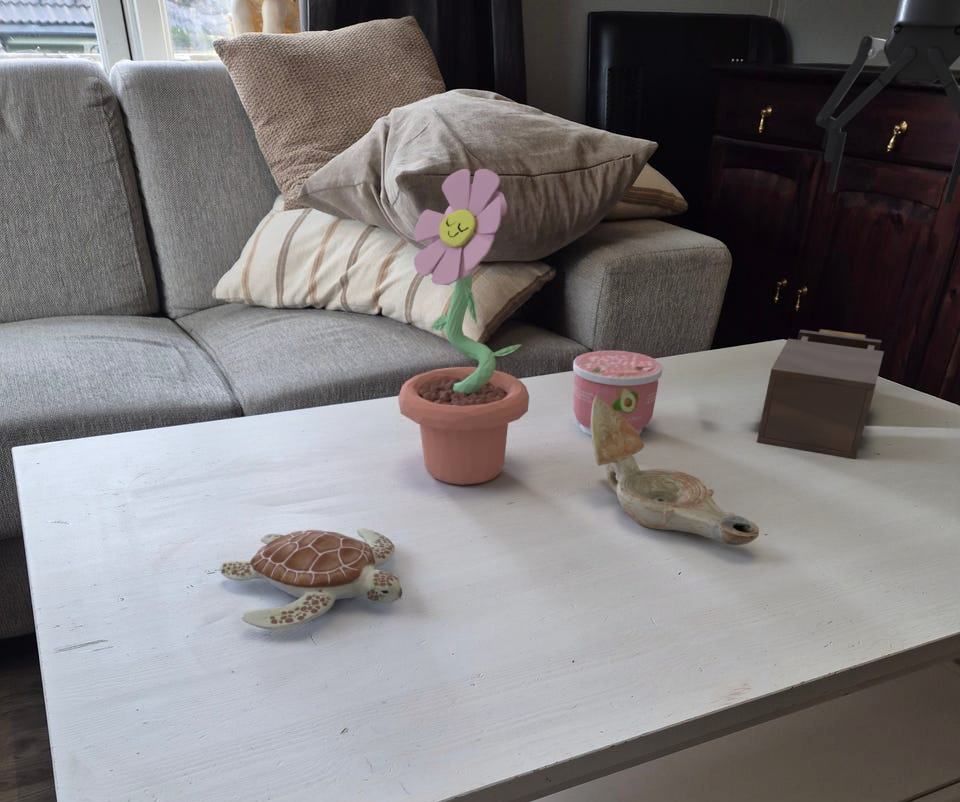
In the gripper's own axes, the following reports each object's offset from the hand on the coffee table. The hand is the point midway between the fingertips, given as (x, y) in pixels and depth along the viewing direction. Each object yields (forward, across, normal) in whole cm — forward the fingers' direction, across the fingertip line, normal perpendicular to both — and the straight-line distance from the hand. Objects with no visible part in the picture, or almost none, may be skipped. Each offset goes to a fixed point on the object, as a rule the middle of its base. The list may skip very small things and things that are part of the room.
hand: (887, 196), depth 113 cm
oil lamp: (+24, -12, -50) cm, 57 cm away
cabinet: (+24, -2, -18) cm, 30 cm away
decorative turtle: (+24, -37, -76) cm, 88 cm away
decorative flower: (+24, -36, -48) cm, 64 cm away
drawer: (+23, -2, -6) cm, 24 cm away
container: (+24, -25, -28) cm, 44 cm away
